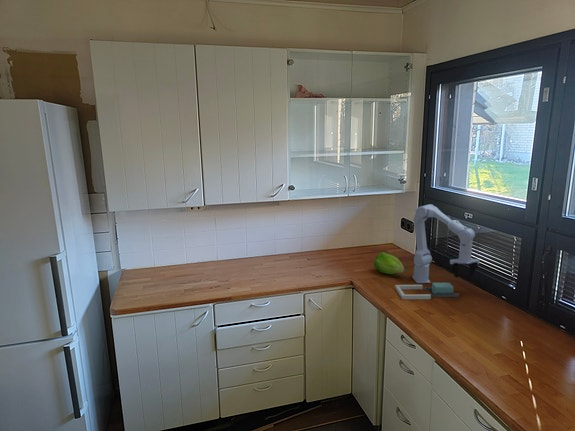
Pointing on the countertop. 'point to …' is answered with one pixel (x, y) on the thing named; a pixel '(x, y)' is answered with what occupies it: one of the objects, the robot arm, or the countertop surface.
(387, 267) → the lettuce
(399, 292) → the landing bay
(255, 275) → the countertop surface
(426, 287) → the parallel guide rails
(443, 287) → the teal block
